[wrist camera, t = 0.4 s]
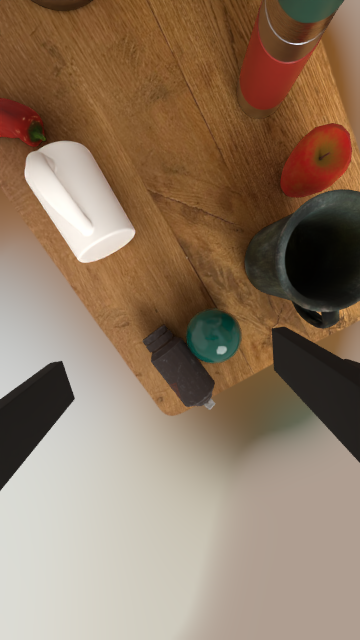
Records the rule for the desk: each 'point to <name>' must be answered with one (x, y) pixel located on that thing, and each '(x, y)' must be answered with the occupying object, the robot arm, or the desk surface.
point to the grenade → (180, 368)
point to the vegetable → (20, 122)
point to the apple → (317, 161)
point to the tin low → (270, 67)
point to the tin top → (300, 18)
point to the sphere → (213, 335)
